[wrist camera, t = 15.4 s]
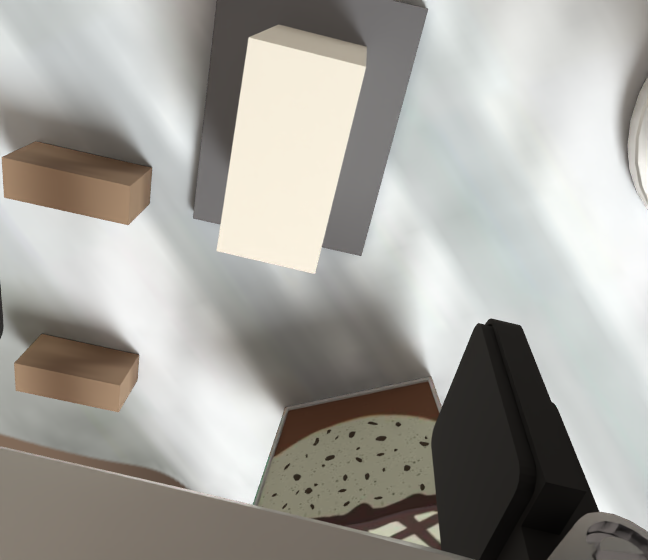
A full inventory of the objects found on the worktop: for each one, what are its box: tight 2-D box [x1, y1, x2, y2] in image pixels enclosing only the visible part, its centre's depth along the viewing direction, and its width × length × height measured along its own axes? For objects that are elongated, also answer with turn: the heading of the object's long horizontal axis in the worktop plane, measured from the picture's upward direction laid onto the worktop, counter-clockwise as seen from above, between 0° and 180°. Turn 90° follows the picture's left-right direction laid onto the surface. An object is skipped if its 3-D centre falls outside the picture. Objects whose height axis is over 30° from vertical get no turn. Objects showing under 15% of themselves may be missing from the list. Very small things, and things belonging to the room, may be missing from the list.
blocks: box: [2, 141, 152, 412], centre depth 31 cm, size 10×14×3 cm
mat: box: [193, 0, 428, 256], centre depth 27 cm, size 9×12×1 cm
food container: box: [253, 376, 442, 550], centre depth 32 cm, size 12×6×10 cm, turn 108°
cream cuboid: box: [217, 24, 367, 274], centre depth 24 cm, size 4×8×7 cm, turn 167°
